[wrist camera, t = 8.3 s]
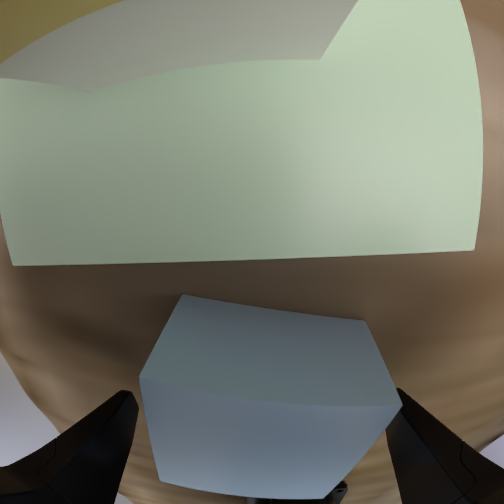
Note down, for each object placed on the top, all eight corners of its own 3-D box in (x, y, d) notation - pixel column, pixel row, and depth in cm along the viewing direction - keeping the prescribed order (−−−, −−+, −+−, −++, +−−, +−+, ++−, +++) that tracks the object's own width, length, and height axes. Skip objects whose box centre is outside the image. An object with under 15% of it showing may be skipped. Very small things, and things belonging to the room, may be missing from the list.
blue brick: (315, 423, 11) (323, 498, 8) (182, 406, 11) (160, 481, 8) (363, 317, 9) (402, 404, 5) (183, 291, 9) (138, 376, 5)
